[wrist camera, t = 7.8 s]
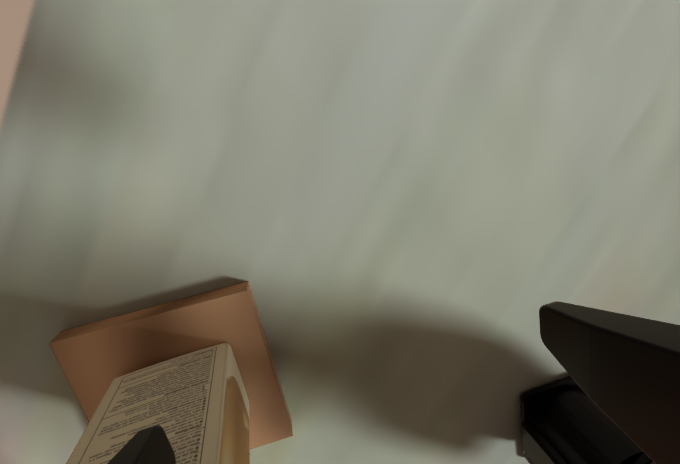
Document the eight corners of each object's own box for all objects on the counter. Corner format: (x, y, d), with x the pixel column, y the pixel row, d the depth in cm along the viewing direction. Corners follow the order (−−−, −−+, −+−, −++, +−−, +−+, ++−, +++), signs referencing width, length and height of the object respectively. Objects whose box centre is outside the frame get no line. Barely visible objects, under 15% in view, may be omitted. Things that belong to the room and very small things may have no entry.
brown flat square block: (248, 276, 22) (247, 290, 20) (290, 412, 25) (292, 435, 23) (69, 323, 21) (48, 343, 19) (135, 460, 24) (124, 489, 22)
